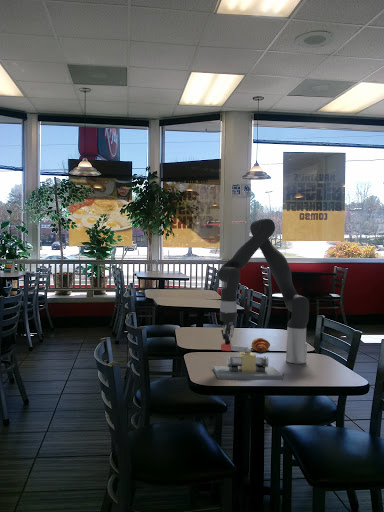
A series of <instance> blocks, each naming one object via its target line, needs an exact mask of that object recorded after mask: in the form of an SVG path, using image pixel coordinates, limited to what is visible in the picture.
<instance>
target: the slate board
mask: <svg viewBox="0 0 384 512" xmlns="http://www.w3.org/2000/svg"><path fill="white" fill-rule="evenodd" d="M212 370H213V371H214V372H213V373H214V374H215V375H216V376H217V378H218V379H219V380H222V379H223V380H226V379H227V380H237V379H238V380H240V379H241V380H283V379H284V376H283V374H282V373H281V372H280V371H279V370H278V369H276V368H275V367H274V366H268V367H265V372H258V371H257V370H256V368H255V373H245V372H241V371H240V369H239V366H238V372H231V371H230V369H229V367H227V365H226V366H225V365H214V366H212Z"/></svg>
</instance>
